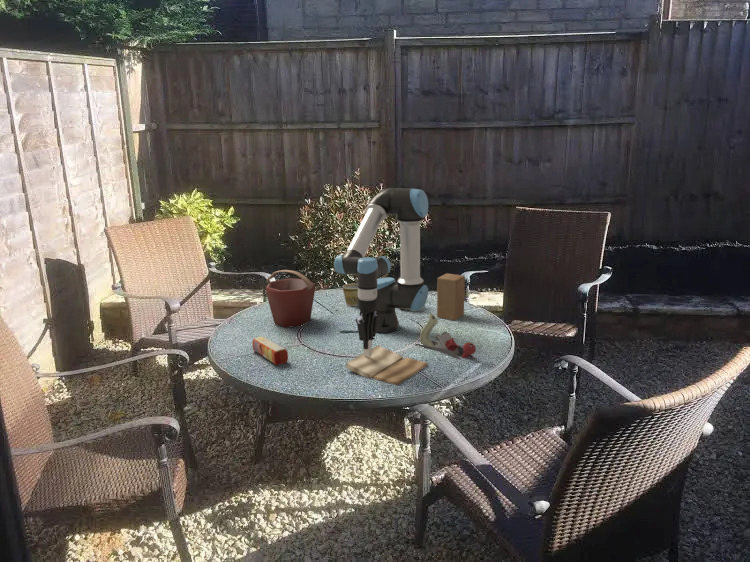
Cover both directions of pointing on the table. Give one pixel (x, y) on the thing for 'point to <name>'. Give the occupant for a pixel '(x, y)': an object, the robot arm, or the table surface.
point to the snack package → (270, 350)
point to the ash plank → (373, 362)
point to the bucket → (290, 299)
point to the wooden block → (450, 296)
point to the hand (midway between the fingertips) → (367, 355)
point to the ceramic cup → (351, 294)
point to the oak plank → (401, 371)
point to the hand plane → (444, 342)
